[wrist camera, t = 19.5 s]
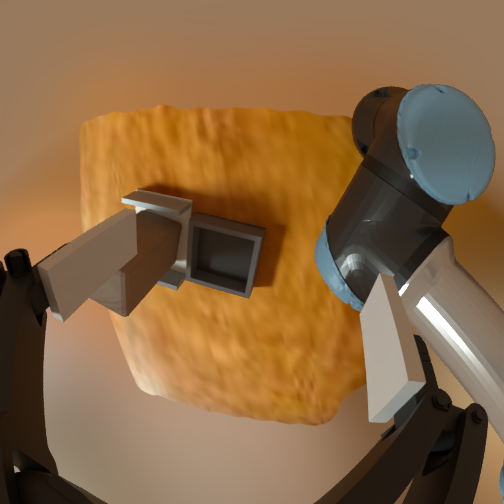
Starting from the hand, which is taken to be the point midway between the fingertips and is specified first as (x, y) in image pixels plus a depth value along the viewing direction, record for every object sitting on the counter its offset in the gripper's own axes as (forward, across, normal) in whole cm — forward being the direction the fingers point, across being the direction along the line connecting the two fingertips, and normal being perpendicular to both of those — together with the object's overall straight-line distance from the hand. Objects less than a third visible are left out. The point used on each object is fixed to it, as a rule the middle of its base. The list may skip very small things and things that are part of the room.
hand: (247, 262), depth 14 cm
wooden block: (+34, -24, -20) cm, 47 cm away
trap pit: (+35, -10, -20) cm, 41 cm away
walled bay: (+35, -24, -20) cm, 47 cm away
